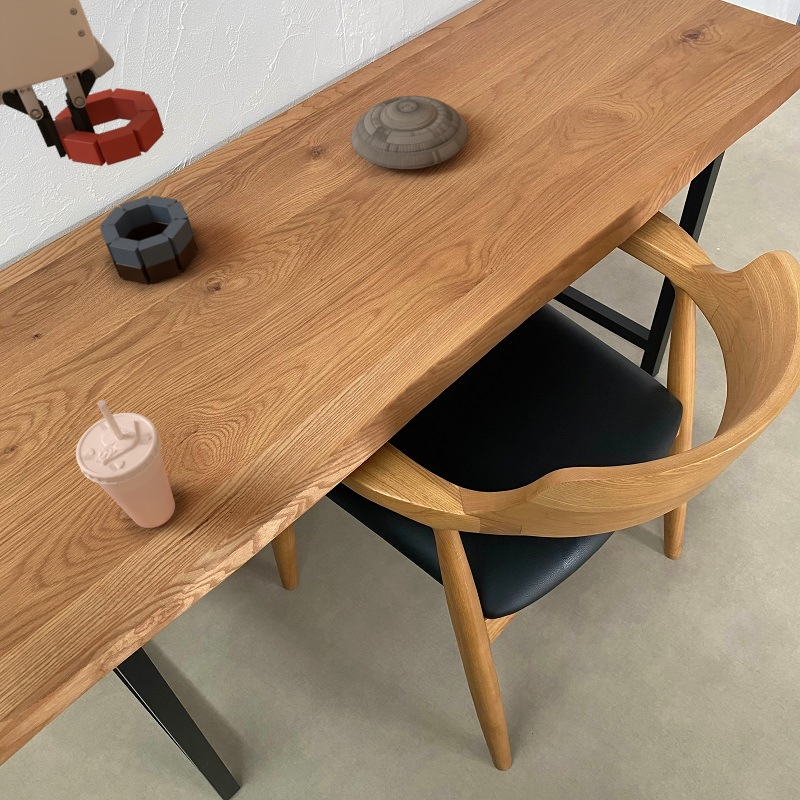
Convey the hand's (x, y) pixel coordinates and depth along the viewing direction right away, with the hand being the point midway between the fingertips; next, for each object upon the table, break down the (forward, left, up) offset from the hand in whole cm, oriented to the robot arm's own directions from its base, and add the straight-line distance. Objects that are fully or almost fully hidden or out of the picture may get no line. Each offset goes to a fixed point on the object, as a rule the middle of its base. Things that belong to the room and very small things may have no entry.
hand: (73, 144), depth 75 cm
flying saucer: (+39, +8, -18) cm, 43 cm away
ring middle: (+4, +3, -15) cm, 16 cm away
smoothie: (-5, -30, -18) cm, 35 cm away
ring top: (+4, 0, 0) cm, 4 cm away
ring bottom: (+4, +3, -17) cm, 18 cm away
